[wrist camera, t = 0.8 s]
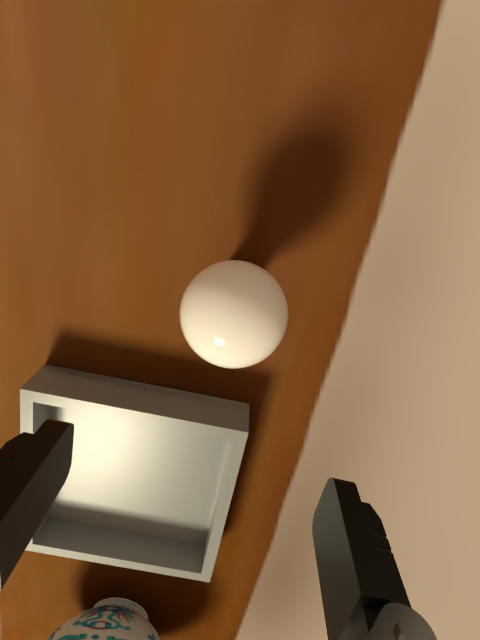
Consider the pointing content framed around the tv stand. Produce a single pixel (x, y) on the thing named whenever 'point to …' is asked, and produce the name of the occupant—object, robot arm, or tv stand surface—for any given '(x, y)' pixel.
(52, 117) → the tv stand surface
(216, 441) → the tray
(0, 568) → the robot arm
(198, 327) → the lightbulb
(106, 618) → the chinaware
